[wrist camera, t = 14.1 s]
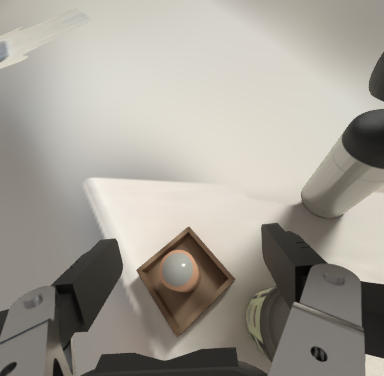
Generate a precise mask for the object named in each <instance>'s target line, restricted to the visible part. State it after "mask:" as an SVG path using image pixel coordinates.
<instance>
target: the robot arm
mask: <svg viewBox="0 0 384 376" xmlns="http://www.w3.org/2000/svg"><path fill="white" fill-rule="evenodd" d="M369 91H370V93H371V95H372V96H374V97H375V98H377V99H380V100H382V101H384V52H383V54H382V55H381V57H380V59H379V60H378V62H377V64H376V66H375V68H374V70H373V72H372V74H371V77H370V81H369ZM382 185H384V109H378V110H373V111H368V112H365V113H363V114H361V115H359V116H357V117H356V118H355V119H354V120H353V121H352V122H351V123H350V124H349V126H348V127H347V128H346V130H345V131H344V133H343V134H342V135H341V137H340V138H339V139H338V141H337V142H336V144H335V145H334V146H333V148H332V149H331V151H330V152H329V154H328V155H327V156H326V158H325V159H324V160H323V162H322V163H321V164H320V166H319V167H318V168H317V170H316V171H315V173H314V174H313V175H312V177H311V178H310V180H309V181H308V182H307V183H306V185H305V186H304V188H303V189H302V192H301V198H302V201H303V203H304V205H305V206H306V207H307V209H309V210H310V211H311V212H312V213H314V214H316V215H318V216H321V217H324V218H336V217H339V216H341V215H342V214H344V213H345V212H346V211H348V210H349V209H351V208H352V207H353V206H355V205H356V204H358V203H359V202H360V201H362V200H363V199H364V198H366V197H367V196H369V195H370V194H371V193H373V192H374V191H375V190H377V189H378V188H379V187H381V186H382ZM261 232H262V252H263V258H264V261H265V264H266V266H267V267H268V269H269V271H270V273H271V275H272V277H273V279H274V281H275V282H276V284H277V286H278V288H279V290H280V292H281V294H282V296H283V298H284V299H285V301H286V303H287V305H288V307H289V309H290V314H289V317H288V320H287V322H286V325H285V328H284V331H283V334H282V336H281V339H280V342H279V345H278V348H277V350H276V353H275V356H274V359H273V362H272V364H271V367H270V370H269V373H268V374H266V373H265V372H263V371H262V370H260V369H258V368H256V367H254V366H252V365H249V364H247V363H244V362H240V361H238V359H237V353H236V347H233V348H214V349H200V350H198V351H195V352H192V353H189V354H186V355H183V356H180V357H177V358H174V359H171V360H167V361H162V360H158V359H155V358H151V357H147V356H143V355H140V354H136V353H120V354H102V355H101V357H100V360H99V362H98V364H97V366H96V368H95V369H94V370H91V371H89V372H87V373H85V374H83V375H81V376H365V354H368V355H372V356H376V357H380V358H384V284H376V283H369V282H363V281H360V279H359V278H358V277H357V276H356V275H355V274H354V273H353V272H351V271H349V270H348V269H346V268H343V267H341V266H338V265H334V264H328V263H327V262H326V261H325V260H323V259H322V258H321V257H320V256H319V255H318V254H317V253H316V252H315V251H314V250H313V249H312V248H310V246H309V245H308V244H307V243H305V241H304V240H303V239H302V238H301V237H300V236H298V235H296V234H294V233H292V232H290V231H288V232H285V231H284V230H283V229H282V227H281V226H280V225H279V224H278V223H272V224H262V227H261ZM122 270H123V263H122V259H121V254H120V250H119V246H118V242H117V240H116V239H104V240H100V241H99V242H98V243H97V244H96V245H95V246H94V247H93V248H92V249H91V250H90V251H88V252H87V253H85V254H83V255H82V256H81V257H80V258H79V259H78V260H77V261H76V262H75V263H74V264H73V265H72V266H71V267H70V269H67V270H66V271H65V272H64V273H63V274H62V275H61V276H60V277H59V278H58V279H57V280H56V281H55V282H54V283H53V284H52V285H51V286H43V287H40V288H37V289H34V290H32V291H30V292H28V293H26V294H25V295H23V296H22V297H20V298H19V299H18V300H16V301H15V302H14V303H13V304H12V306H11V307H10V309H8V310H4V311H1V312H0V376H76V366H75V354H74V343H73V340H72V336H73V334H74V333H75V332H88V330H89V328H90V327H91V325H92V323H93V322H94V320H95V318H96V317H97V315H98V313H99V312H100V310H101V308H102V306H103V305H104V303H105V301H106V300H107V298H108V296H109V295H110V293H111V291H112V290H113V288H114V286H115V284H116V283H117V281H118V279H119V278H120V276H121V274H122Z"/></svg>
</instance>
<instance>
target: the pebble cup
mask: <svg viewBox="0 0 384 376" xmlns="http://www.w3.org/2000/svg"><path fill="white" fill-rule="evenodd" d="M159 275H160V279H161V281H162V283H163V284H164V285H165V286H166V287H167V288H169V289H172V290H175V291H178V292H182V293H191V292H193V291H194V290H196V289H197V287H198V286H199V284H200V281H201V273H200V270H199V268H198V266H197V264H196V262H195V260H194V258H193V257H192V256H191V255H190V254H189V253H188V252H186V251H183V250H174V251H171V252H169V253H168V254H167V255H166V256H165V257H164V258H163V259H162V261H161V264H160V267H159Z"/></svg>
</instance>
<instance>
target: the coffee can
mask: <svg viewBox="0 0 384 376" xmlns="http://www.w3.org/2000/svg"><path fill="white" fill-rule="evenodd" d="M289 314H290V309H289V307H288V305H287V303H286V301H285V299H284V298H283V296H282V294H281V292H280V290H279V288H278V286H275V287H272V288H269V289H264V290H261V291H259V292H258V293H256V294H255V295H254V296H253V297H252V298H251V300H250V301H249V303H248V306H247V310H246V325H247V329H248V332H249V335H250V337H251V339H252V341H253V342H254V344H255V345H256V347H257V348H258V349H259V350H260V351H261V352H262V353H263V354H264V355H265V356H266V357H267V358H268V359H269V360H270V361H271V362H273V359H274V356H275V353H276V350H277V348H278V345H279V342H280V339H281V336H282V334H283V331H284V328H285V325H286V322H287V320H288V317H289Z"/></svg>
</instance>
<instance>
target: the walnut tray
mask: <svg viewBox="0 0 384 376" xmlns="http://www.w3.org/2000/svg"><path fill="white" fill-rule="evenodd" d="M174 250H183V251H186V252H188V253H189V254H190V255H191V256H192V257H193V258H194V260H195V262H196V264H197V266H198V268H199V270H200V273H201V281H200V284H199V286H198V287H197V289H196V290H194V291H193V292H191V293H182V292H178V291H175V290H172V289H169V288H167V287H166V286H165V285H164V284H163V283H162V281H161V279H160V275H159V267H160V264H161V261H162V259H163V258H164V257H165V256H166V255H167V254H168V253H169V252H171V251H174ZM136 271H137V272H138V274H139V276H140V277H141V279H142V281H143V282H144V284H145V286H146V287H147V289H148V291H149V292H150V294H151V296H152V297H153V299H154V301H155V302H156V304H157V306H158V307H159V309H160V311H161V312H162V314H163V315H164V317H165V319H166V320H167V322H168V324H169V325H170V327H171V329H172V330H173V332H174V334H175V335H176V337H178V336H179V335H181V334H182V333H183V332H184V331H185V330H186V329H187V328H188V327H189V326H190V325H191V324H192V323H193V322H194V321H195V320H196V319H197V318H198V317H199V316H200V315H201V314H202V313H203V312H204V311H205V310H206V309H207V308H208V307H209V306H210V305H211V304H212V303H213V302H214V301H215V300H216V299H217V298H218V297H219V296H220V295H221V294H222V293H223V292H224V291H225V290H226V289H227V288H228V287H229V286H230V285H231V284H232V283H233V282H234V280H235V279H234V277H233V276H232V275H231V274H230V273H229V272H228V271H227V269H226V268H225V267H224V266H223V265H222V264H221V262H220V261H219V260H218V259H217V258H216V257H215V256H214V254H213V253H212V252H211V251H210V250H209V249H208V248H207V246H206V245H205V244H204V243H203V242H202V241H201V240H200V238H199V237H198V236H197V235H196V234H195V233H194V232H193V230H192V229H191V228H190V227H188V228H186V229H185V230H184V231H183V232H182V233H180V234H179V235H178V236H177V237H176V238H174V239H173V240H172V241H171V242H170V243H168V244H167V245H166V246H165V247H164V248H162V249H161V250H160V251H159V252H157V253H156V254H155V255H154V256H153V257H151V258H150V259H149V260H148V261H147V262H145V263H144V264H143V265H142V266H141V267H139V268H138V269H137V270H136Z"/></svg>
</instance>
